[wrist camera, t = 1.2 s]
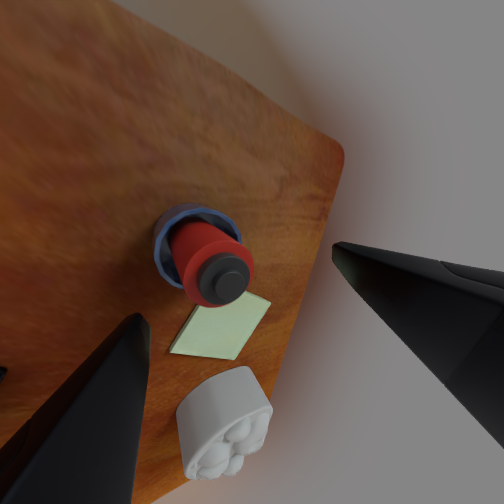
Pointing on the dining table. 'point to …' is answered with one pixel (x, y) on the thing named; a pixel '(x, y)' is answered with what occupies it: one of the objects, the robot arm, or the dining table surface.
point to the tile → (220, 328)
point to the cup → (165, 225)
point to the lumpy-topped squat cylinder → (222, 424)
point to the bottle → (209, 262)
